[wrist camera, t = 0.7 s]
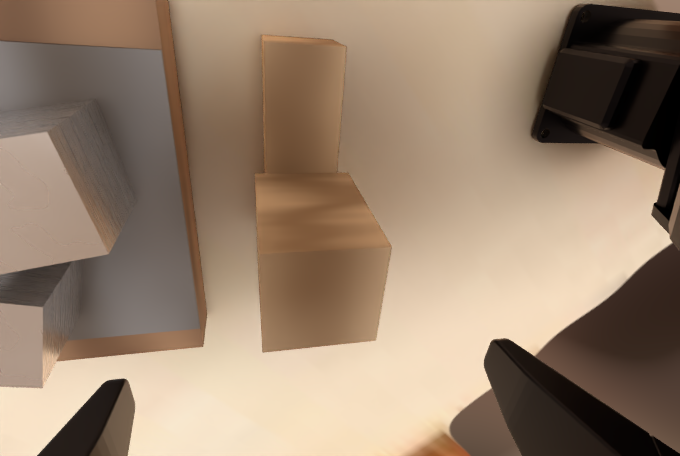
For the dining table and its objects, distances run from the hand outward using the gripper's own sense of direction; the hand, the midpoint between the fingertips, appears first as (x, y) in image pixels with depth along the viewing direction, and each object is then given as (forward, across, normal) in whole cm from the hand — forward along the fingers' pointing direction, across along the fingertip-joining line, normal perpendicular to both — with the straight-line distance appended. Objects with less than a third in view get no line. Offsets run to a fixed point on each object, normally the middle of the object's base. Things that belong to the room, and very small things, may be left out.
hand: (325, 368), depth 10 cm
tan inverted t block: (+12, 0, +1) cm, 12 cm away
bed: (+12, +9, 0) cm, 15 cm away
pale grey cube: (+9, +9, -2) cm, 13 cm away
